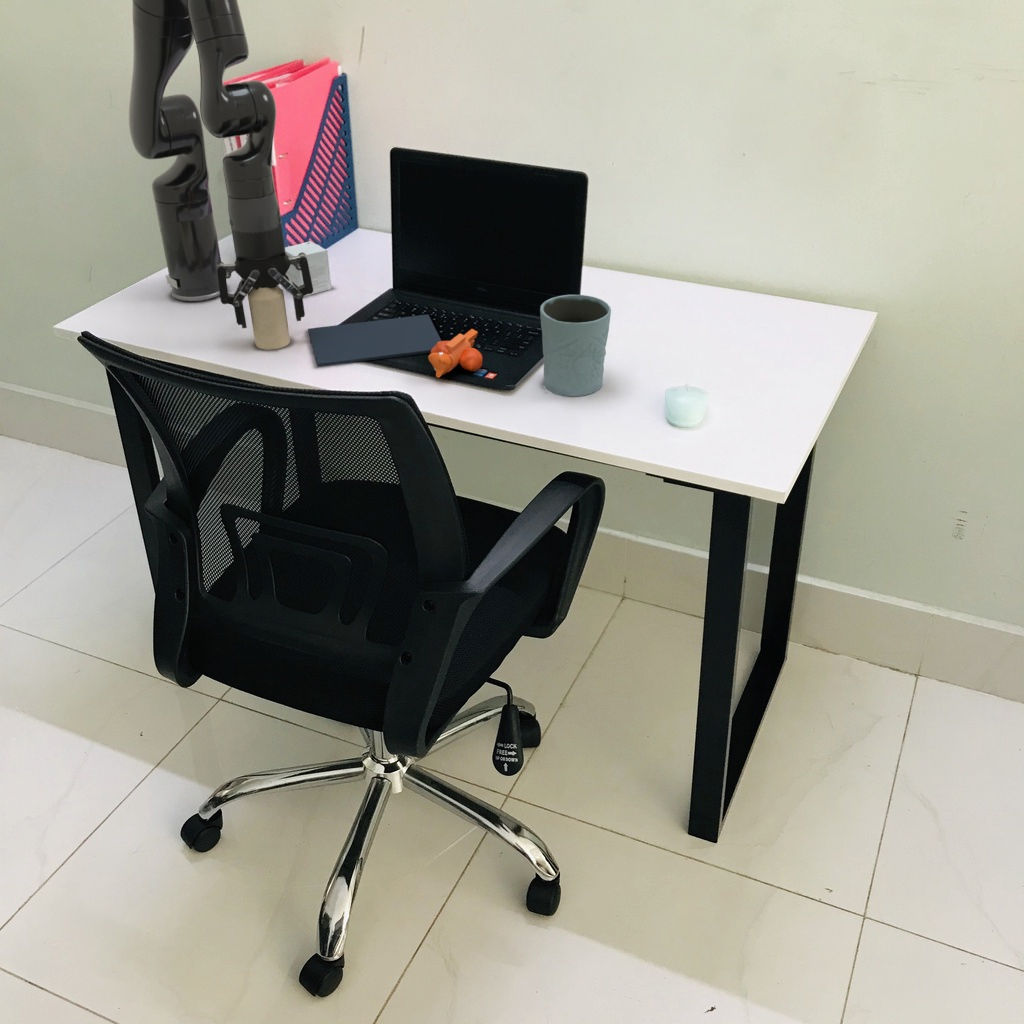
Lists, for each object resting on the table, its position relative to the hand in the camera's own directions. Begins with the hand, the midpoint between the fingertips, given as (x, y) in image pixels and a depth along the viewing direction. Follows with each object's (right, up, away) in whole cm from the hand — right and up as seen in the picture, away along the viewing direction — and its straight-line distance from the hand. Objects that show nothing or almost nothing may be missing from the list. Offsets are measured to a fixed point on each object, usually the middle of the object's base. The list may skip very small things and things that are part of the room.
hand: (271, 322), depth 177 cm
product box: (+2, +10, +22) cm, 24 cm away
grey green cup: (+47, -11, -12) cm, 50 cm away
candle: (0, -3, +2) cm, 4 cm away
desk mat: (+16, -2, +2) cm, 17 cm away
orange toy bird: (+30, -8, -7) cm, 32 cm away
